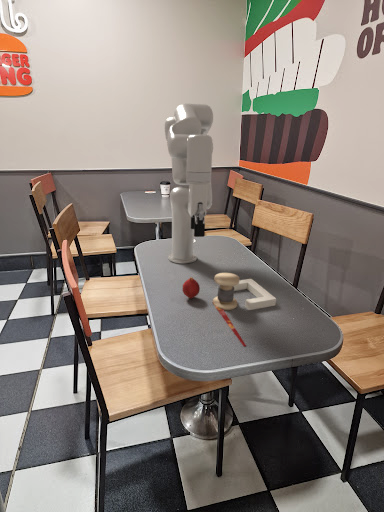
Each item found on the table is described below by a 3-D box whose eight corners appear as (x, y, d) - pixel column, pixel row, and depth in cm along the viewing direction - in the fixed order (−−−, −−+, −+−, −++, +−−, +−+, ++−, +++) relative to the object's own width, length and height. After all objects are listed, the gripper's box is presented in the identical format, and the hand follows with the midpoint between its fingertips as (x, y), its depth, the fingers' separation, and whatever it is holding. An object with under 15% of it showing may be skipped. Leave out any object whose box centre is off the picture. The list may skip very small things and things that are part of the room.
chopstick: (242, 348, 84) (243, 345, 84) (212, 304, 105) (212, 301, 105) (249, 347, 84) (249, 344, 84) (217, 303, 106) (217, 300, 106)
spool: (209, 299, 107) (210, 274, 103) (230, 296, 110) (232, 271, 106) (219, 311, 100) (221, 284, 96) (241, 307, 103) (244, 281, 99)
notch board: (226, 288, 115) (227, 282, 114) (250, 284, 119) (251, 278, 118) (248, 310, 101) (249, 303, 100) (275, 305, 105) (276, 298, 104)
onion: (182, 293, 110) (183, 272, 107) (199, 294, 110) (200, 273, 107) (181, 302, 105) (182, 280, 102) (199, 302, 105) (200, 281, 102)
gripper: (184, 175, 104) (183, 226, 110) (189, 180, 88) (188, 240, 93) (206, 175, 105) (204, 226, 110) (216, 180, 89) (213, 239, 94)
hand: (197, 232), depth 102 cm, fingers open, 9 cm apart
